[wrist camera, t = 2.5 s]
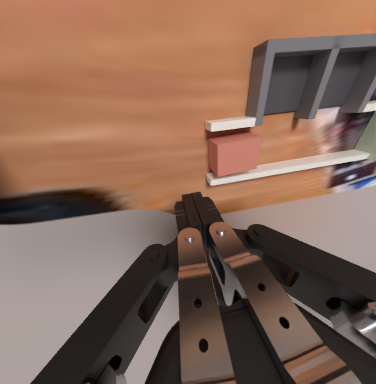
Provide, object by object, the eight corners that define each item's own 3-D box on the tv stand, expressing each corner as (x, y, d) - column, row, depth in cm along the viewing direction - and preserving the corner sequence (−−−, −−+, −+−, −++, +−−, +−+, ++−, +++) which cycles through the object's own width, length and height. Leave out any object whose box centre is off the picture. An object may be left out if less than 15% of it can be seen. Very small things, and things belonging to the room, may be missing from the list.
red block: (209, 166, 23) (217, 176, 20) (207, 138, 21) (217, 145, 17) (242, 159, 24) (256, 168, 20) (245, 131, 21) (261, 136, 18)
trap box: (206, 178, 24) (213, 190, 21) (203, 51, 16) (216, 36, 12) (355, 153, 28) (382, 160, 24) (421, 37, 19) (478, 23, 16)
